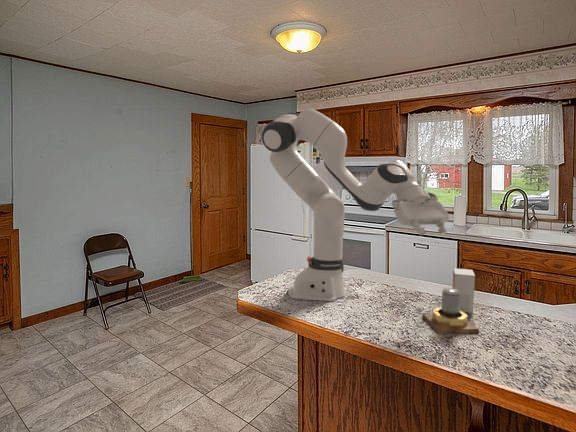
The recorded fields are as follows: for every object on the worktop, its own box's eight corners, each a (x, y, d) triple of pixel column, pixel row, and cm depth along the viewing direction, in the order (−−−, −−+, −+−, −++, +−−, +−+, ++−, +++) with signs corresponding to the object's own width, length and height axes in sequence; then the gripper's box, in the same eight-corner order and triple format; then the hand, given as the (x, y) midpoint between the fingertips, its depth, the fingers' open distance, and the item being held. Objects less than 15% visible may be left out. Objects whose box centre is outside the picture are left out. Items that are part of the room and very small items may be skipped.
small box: (451, 302, 131) (453, 267, 129) (470, 305, 128) (473, 269, 127) (452, 310, 123) (454, 273, 122) (473, 313, 121) (475, 275, 119)
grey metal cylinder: (445, 324, 109) (446, 293, 108) (438, 317, 114) (439, 288, 113) (461, 324, 109) (463, 293, 108) (453, 317, 114) (455, 288, 113)
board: (438, 333, 106) (438, 329, 105) (422, 317, 117) (422, 313, 117) (478, 333, 106) (479, 329, 106) (458, 316, 118) (459, 313, 118)
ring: (441, 327, 107) (441, 319, 107) (428, 315, 116) (428, 307, 116) (471, 327, 107) (472, 319, 107) (456, 315, 116) (457, 307, 116)
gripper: (395, 193, 115) (415, 228, 108) (439, 195, 125) (461, 227, 117) (384, 205, 120) (403, 240, 112) (428, 206, 129) (448, 238, 122)
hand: (433, 233), depth 115 cm, fingers open, 8 cm apart
